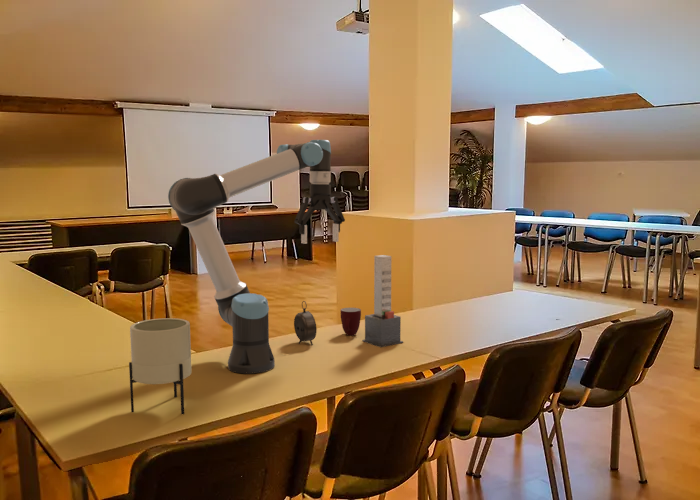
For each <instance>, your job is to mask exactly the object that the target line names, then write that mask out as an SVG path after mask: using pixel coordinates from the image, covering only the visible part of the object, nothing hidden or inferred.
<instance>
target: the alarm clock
mask: <svg viewBox="0 0 700 500" xmlns="http://www.w3.org/2000/svg"><path fill="white" fill-rule="evenodd" d="M304 303H305V308H304V306H303V304H304ZM301 308H302V311H300V312H298V313H296V314H295V317H294V319H293V328H294V332H295V335H296V337H297V339H298V340H299V341H298V345H301V342H304V343H305V342H309V343H310V345H311V346H314V344H313V340H314V339H315V338H316V336H317V331H318V330H317V329H318V328H317V323H316V319H315V316H314V315H313V313H312V312H310V311H308V310H306V309H307V302H306V301H304V300H303V301H302V302H301Z"/></svg>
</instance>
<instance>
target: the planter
mask: <svg viewBox="0 0 700 500" xmlns="http://www.w3.org/2000/svg"><path fill="white" fill-rule="evenodd" d="M129 333H130V337H129V338H130V353H131V355H130V357H131V358H130V359H131V362H128V365H129V366H128V367H129V368H128V369H129V372H128V374H129V393H130V410H131V411H130V413H134V412H135V407H134V406H135V405H134V404H135V403H134V385H133V384H134V383H140V384H144V385H163V384H164V385H165V384H170V383H171V384H172V383H173V396H174V398H177V397H178V387H177V386H178V385H179V389H180V390H179V391H180V394H179V395H180V415H182V414H183V415H185V395H184V394H185V392H184V391H185V390H184V380H185V379H186V378H188V377H190V375H192V348H191V345H192V344H191V324H190V321H189V320H186V319H183V318H177V317H176V318H174V317H173V318H172V317H171V318H170V317H169V318H168V317H167V318H166V317H165V318H153V319H145V320H140V321H137V322H135V323H133V324H131V325H130V326H129Z"/></svg>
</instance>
